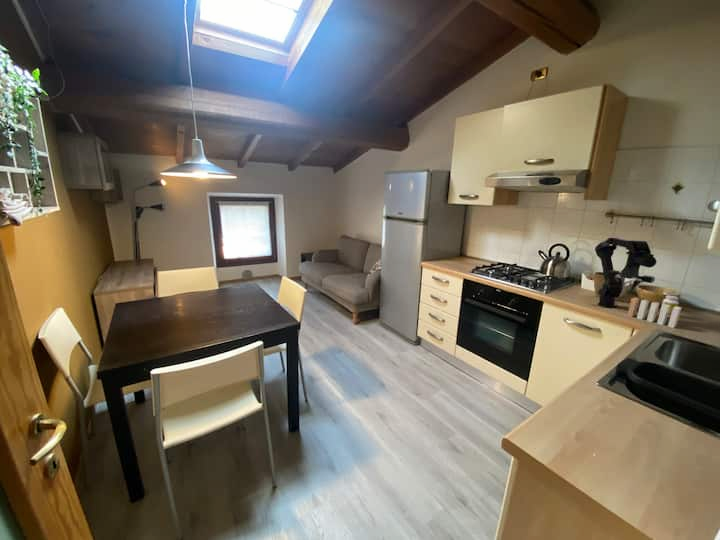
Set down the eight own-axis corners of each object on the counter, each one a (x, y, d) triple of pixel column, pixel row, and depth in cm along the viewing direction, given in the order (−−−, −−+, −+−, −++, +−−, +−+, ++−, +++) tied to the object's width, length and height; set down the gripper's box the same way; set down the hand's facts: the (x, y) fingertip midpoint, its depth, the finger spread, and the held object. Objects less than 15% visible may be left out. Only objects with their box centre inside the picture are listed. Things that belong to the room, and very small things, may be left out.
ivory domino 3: (656, 323, 151) (662, 305, 148) (659, 321, 153) (664, 303, 151) (662, 325, 149) (667, 306, 147) (665, 323, 152) (670, 305, 149)
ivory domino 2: (646, 320, 154) (651, 303, 152) (649, 319, 157) (654, 301, 154) (651, 322, 152) (656, 304, 150) (654, 320, 155) (659, 302, 153)
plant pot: (586, 297, 193) (591, 273, 189) (592, 293, 202) (597, 270, 199) (615, 303, 182) (621, 278, 178) (620, 299, 191) (626, 275, 188)
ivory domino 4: (667, 326, 147) (673, 307, 145) (670, 324, 150) (675, 306, 148) (673, 327, 146) (679, 309, 143) (676, 326, 148) (681, 307, 146)
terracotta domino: (627, 315, 160) (631, 298, 158) (630, 314, 163) (634, 297, 161) (631, 317, 159) (636, 299, 157) (635, 315, 161) (639, 298, 159)
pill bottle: (678, 317, 160) (683, 298, 158) (664, 316, 162) (670, 297, 159) (668, 313, 166) (674, 295, 164) (656, 312, 167) (661, 294, 165)
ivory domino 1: (636, 318, 157) (641, 300, 155) (639, 316, 160) (644, 299, 158) (641, 319, 156) (646, 301, 153) (644, 317, 158) (649, 300, 156)
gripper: (606, 261, 162) (600, 288, 165) (652, 268, 146) (644, 297, 150) (613, 260, 167) (607, 286, 171) (658, 266, 152) (650, 294, 156)
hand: (626, 291), depth 162 cm, fingers open, 4 cm apart
